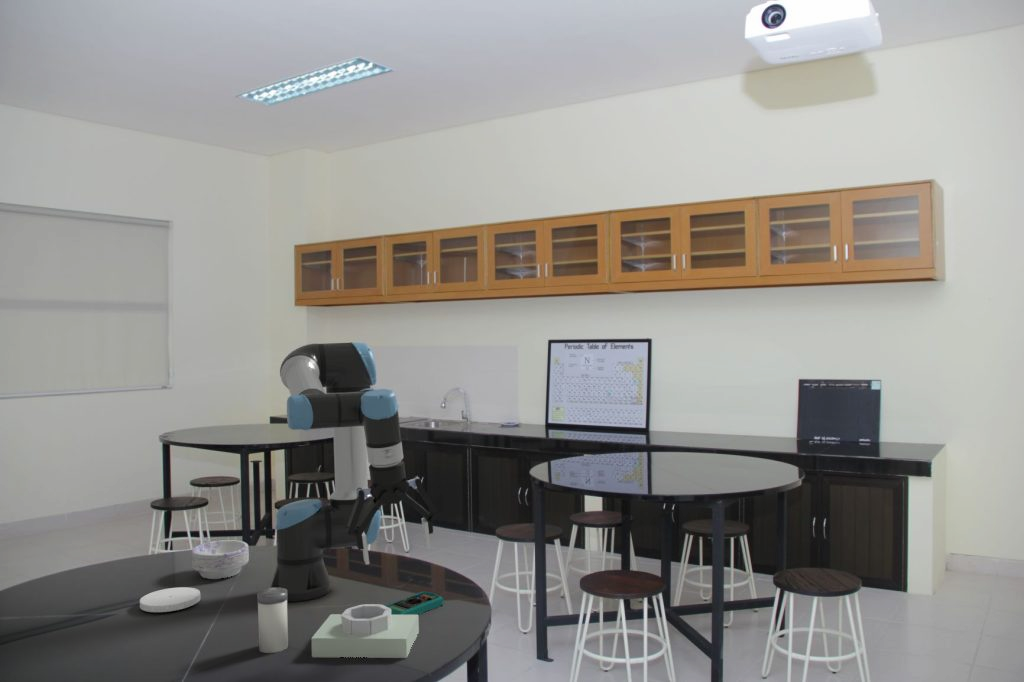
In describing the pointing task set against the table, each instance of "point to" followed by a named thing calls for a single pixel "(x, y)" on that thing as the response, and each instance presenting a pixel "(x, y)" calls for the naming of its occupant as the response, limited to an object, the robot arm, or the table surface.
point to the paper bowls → (219, 558)
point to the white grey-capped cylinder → (272, 620)
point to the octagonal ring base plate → (366, 633)
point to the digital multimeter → (415, 604)
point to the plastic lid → (169, 599)
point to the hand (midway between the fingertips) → (397, 554)
